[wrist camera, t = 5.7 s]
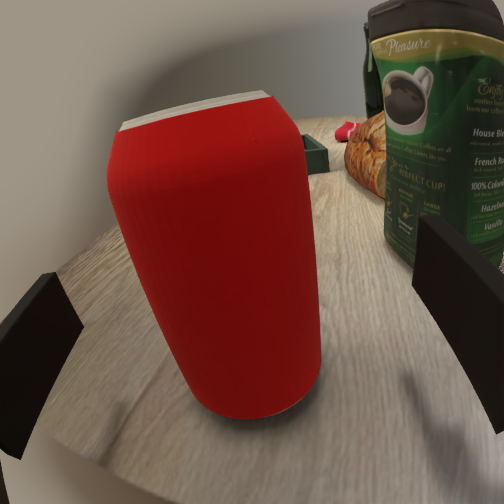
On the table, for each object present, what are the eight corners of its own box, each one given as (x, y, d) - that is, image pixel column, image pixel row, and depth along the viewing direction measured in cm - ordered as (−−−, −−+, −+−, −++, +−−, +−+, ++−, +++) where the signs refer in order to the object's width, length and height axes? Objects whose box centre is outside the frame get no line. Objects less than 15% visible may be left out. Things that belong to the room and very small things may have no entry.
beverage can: (342, 351, 15) (327, 83, 9) (276, 454, 10) (188, 102, 5) (243, 320, 18) (193, 104, 12) (170, 394, 14) (62, 144, 8)
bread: (370, 207, 29) (364, 105, 24) (330, 164, 45) (322, 99, 40) (512, 191, 27) (516, 111, 23) (443, 155, 43) (441, 97, 39)
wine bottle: (401, 122, 81) (388, 19, 65) (369, 122, 83) (354, 19, 68) (394, 118, 89) (382, 25, 74) (365, 119, 92) (351, 26, 77)
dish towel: (345, 130, 73) (344, 120, 71) (436, 132, 62) (435, 122, 61) (332, 143, 60) (331, 130, 59) (446, 146, 49) (446, 132, 48)
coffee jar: (514, 271, 16) (518, -2, 7) (437, 304, 16) (426, -42, 7) (441, 218, 25) (429, 11, 16) (369, 235, 24) (344, 0, 15)
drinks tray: (204, 190, 43) (199, 168, 41) (216, 165, 57) (212, 149, 55) (329, 171, 42) (327, 148, 40) (310, 151, 55) (307, 134, 54)
